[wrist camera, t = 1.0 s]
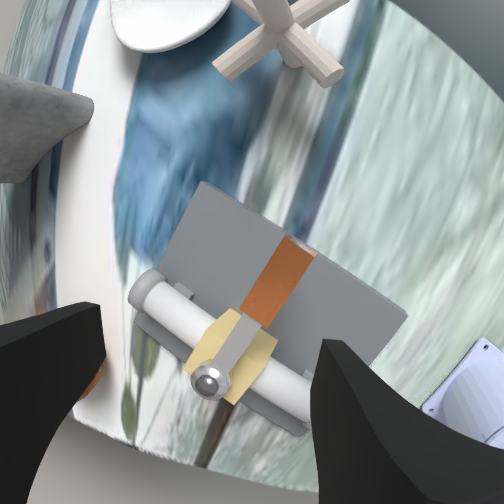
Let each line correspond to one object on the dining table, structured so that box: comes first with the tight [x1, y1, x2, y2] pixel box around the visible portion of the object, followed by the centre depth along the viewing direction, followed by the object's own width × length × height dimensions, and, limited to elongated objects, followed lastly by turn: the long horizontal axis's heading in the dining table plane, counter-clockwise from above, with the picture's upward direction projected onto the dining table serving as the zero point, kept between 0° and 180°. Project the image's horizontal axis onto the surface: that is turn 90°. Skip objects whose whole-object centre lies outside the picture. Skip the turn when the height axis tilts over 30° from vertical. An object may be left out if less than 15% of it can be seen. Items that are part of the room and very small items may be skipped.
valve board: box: [128, 181, 408, 438], centre depth 22 cm, size 18×14×6 cm
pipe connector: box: [212, 0, 350, 88], centre depth 16 cm, size 10×10×10 cm
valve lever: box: [190, 234, 317, 400], centre depth 17 cm, size 11×2×2 cm, turn 149°
